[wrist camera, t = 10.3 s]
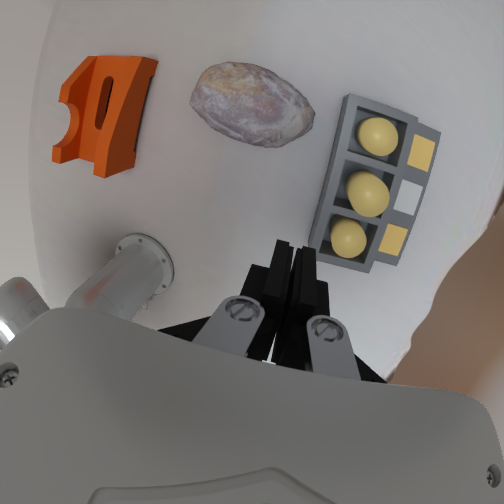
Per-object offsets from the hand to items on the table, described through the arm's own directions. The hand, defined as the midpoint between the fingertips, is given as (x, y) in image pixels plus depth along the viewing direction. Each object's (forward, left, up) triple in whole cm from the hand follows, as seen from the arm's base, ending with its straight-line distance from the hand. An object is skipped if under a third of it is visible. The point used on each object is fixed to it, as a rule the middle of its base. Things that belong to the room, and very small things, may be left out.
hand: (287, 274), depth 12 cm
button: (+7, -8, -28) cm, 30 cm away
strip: (0, -16, -29) cm, 33 cm away
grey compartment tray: (0, -8, -29) cm, 30 cm away
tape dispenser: (+5, +32, -30) cm, 44 cm away
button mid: (0, -8, -25) cm, 26 cm away
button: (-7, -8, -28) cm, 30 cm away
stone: (+7, +8, -30) cm, 32 cm away
